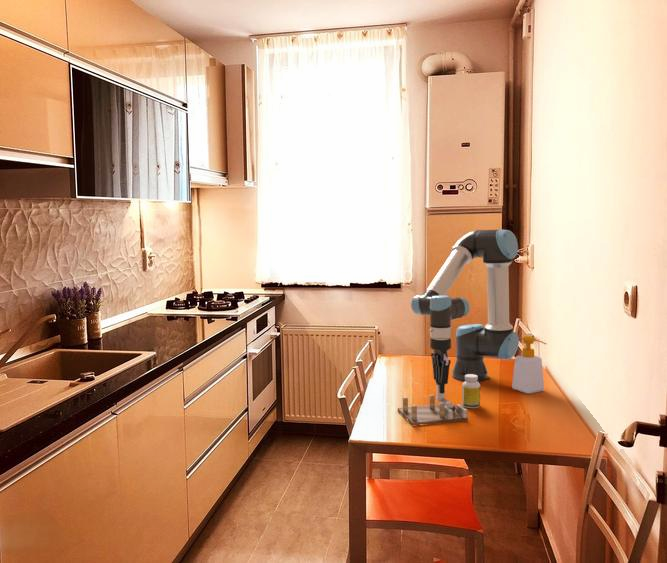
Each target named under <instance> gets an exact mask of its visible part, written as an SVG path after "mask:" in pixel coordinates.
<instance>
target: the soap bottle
mask: <svg viewBox="0 0 667 563" xmlns="http://www.w3.org/2000/svg"><path fill="white" fill-rule="evenodd" d="M521 340H522V341H523V343H524V344H525V345H526V347H524V348H522V354H520V355H516V356H515V358H514V366H513V373H512V374H513V375H512V381H511V383H512V384H511V387H512V389H513V390H515V391H517V392H522V393H524V394H527V395H529V394H534V393H538V392H543V391H545V384H544V383H545V381H544V372H543V359H542V357H541V356H538V355H535V348H531V345H533V344H534V341H536V342H538V343H542V344H544V345H547V343H546V342H544V341H541V340H539V339H536V338H535V337H533V336H531V335H526V336H524V337H522V338H521Z"/></svg>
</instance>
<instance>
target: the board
mask: <svg viewBox="0 0 667 563" xmlns="http://www.w3.org/2000/svg"><path fill="white" fill-rule="evenodd" d="M435 398H436V394H435V395H434V394H429V404H428V405H427V404H425V405H417V404H416V405H415V404H412V405H410V406H409V398H408V397H407V396H406V397H405V396H404V397H402V407H398V408H397V412H398V411H399V412H400V413H401V414H402V415H403V416H404V417H405V418H406V419H408V421H409V422H410V423H411V424H412V425H420V424H431V425H437V423H441V424H448V423H457V422H458V421H460V422H468V420H469V418H468V417H469V416H468V408H466V407H464V406H463V405H462V404H459V403H457V404H455V407H456V409H455V411H454V412H453V411H452V410H451V409H450V408H448V407H447V406H445V403H440V402H438V403H439V404H438V403H437V404H435V400H436V399H435ZM399 412H398V413H399ZM400 413H399V414H400ZM401 414H400V415H401ZM402 415H401V416H402ZM403 416H402V417H403ZM404 417H403V418H404ZM405 418H404V419H405ZM406 419H405V420H406ZM408 421H407V422H408ZM409 422H408V423H409ZM410 423H409V424H410ZM435 423H436V424H435ZM411 424H410V425H411ZM412 425H411V426H412Z"/></svg>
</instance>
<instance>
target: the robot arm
mask: <svg viewBox="0 0 667 563" xmlns="http://www.w3.org/2000/svg"><path fill="white" fill-rule="evenodd" d="M518 250H519V245H518V239H517V237H516V235H515V234H514V233H513V232H512V231H511V230H509V229H502V228H501V229H475V230H471V231H470V232H467V233H466V234H464V235H463V236H462V237H460V238H459V239H458V240H457V241H456V243H454V245H453V246H452V247H451V249H450V255H449V256H448V257H447V259H446V260H445V262H444V263H443V264H442V266H441V268H440V269H439V270H438V272H437V274H436V275H435V276H434V277H433V279H432V281H431V282H430V284H429V285H428V286H427V288H426V289H425V291H424V292H423V294H417V295H415V296H413V297H412V299H411V302H410V307H411V310H412V312H413V313H414V314H416V315H421V316H429V317H430V318H429V320H430V321H429V322H430V323H429V326H430V328H429V330H428V332H429V335H430V337H431V338H430V340H429V345H430V346H429V348H430V349H432V350H433V353H431V354H430V356H431V361H432V362H431V363H432V371H433V372H432V374H433V380H434V381H435V383H436V384H435V385H436V392H435V393H436V394H435V398H436V399H435V400H436V402H438V403H440V401H441V400H442V399H446V385H448V384H449V375H450V366H451V359H448V357H449V356H448V351H449V350H451V349H452V339H451V338H452V320H456V319H461V318H463V317H466V316H467V315H468V314H469V312H470V309H471V306H470V303H469V301H468V300H467V299H466V298H465V297H451V296H449V295H447V293H448V292H449V291H450V289H451V287H452V286H453V284H454V283H455V281H456V280H457V278H458V277H459V275H460V274H461V272H462V271H463V270H464V268H465V266H466V265H468V264H470V263H471V262H472V260H473V259H476V258H481V259H482V264H484V265H485V266H486V282H487V283H486V284H487V285H486V288H487V290H486V291H487V292H486V294H487V323H486V324H485V325H484V324H481V323H474V324H473V323H471V324H465V325H460V326H458V327H457V328H456V333H455V342H456V343H455V345H456V346H455V347H456V348H455V350H456V352H455V353H456V360H455V363H454V365H453V369H452V378H453V379H456V380H457V381H463V382H465V381H466V380H465V375H467V374H474V375H477V376H478V380H477V382H481V381H485V380H487V379H488V375H489V374H488V370H487V367H486V364H485V361H484V357H489V358H495V359H499V360H510V359H512V358H513V357H514V356H515V355H516V353H517V350H518V348H519V346H520V345H519V343H520V337H519V334H518V333H517V332H516V331H514V326H513V325H512V324H511V323H510V292H509V291H510V285H509V282H510V281H509V273H510V272H509V271H510V270H509V267H510V265H511V264H512V263H513V259H515V258H516V256H517V255H518V252H519V251H518Z"/></svg>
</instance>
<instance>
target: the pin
mask: <svg viewBox="0 0 667 563" xmlns="http://www.w3.org/2000/svg"><path fill="white" fill-rule="evenodd" d="M439 403H445V406H447V407H448V408H450V409H451V410H452V411H453V412H454V411H455V409H456V404H454V403H452V402H451V401H449V400H448V399H447V398H445V399H442V400H441V401H440V402H439Z"/></svg>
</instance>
